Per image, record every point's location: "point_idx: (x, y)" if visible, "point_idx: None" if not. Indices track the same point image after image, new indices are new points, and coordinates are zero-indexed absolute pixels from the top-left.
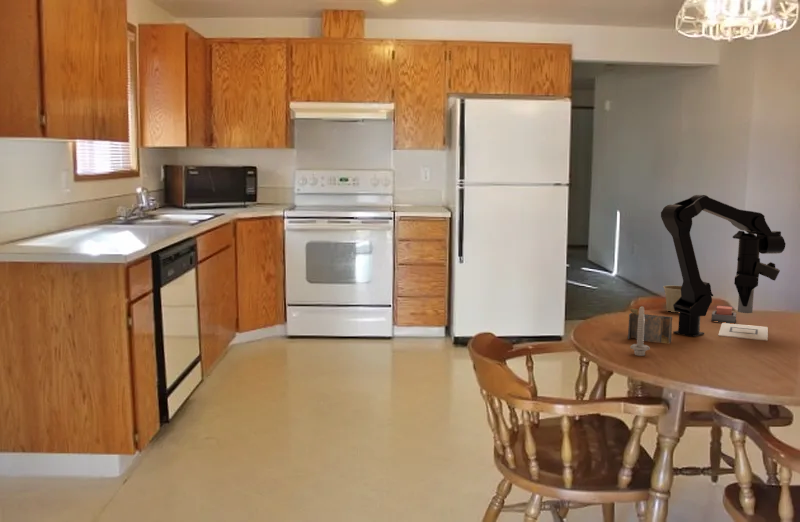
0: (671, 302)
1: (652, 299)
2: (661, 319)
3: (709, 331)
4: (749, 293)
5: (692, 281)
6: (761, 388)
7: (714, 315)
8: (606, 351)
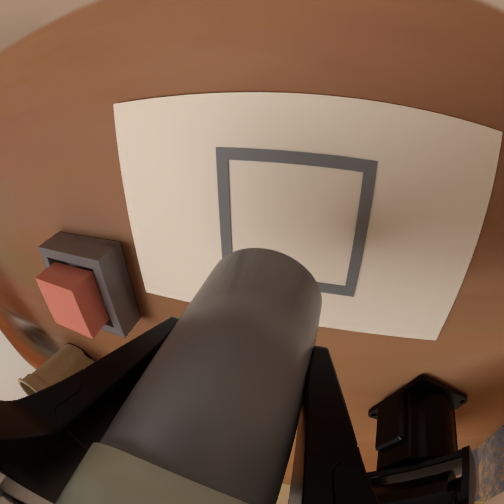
0: None
1: (25, 356)
2: None
3: (349, 355)
4: (369, 488)
5: None
6: None
7: (124, 327)
8: None
